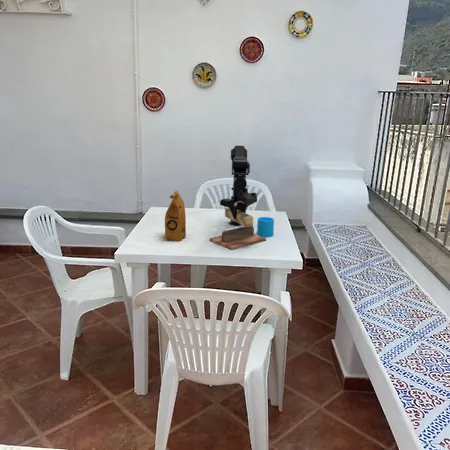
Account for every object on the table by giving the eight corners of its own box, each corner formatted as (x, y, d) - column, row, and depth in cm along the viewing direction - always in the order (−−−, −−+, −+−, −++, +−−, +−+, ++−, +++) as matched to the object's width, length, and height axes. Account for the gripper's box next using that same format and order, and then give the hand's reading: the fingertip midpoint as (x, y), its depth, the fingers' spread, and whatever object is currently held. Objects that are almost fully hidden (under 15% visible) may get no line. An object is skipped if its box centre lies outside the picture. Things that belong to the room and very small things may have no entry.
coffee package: (161, 240, 209) (160, 195, 203) (168, 233, 221) (168, 189, 214) (182, 242, 207) (181, 196, 201) (188, 234, 219) (188, 190, 213)
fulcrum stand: (209, 240, 210) (209, 228, 209) (243, 232, 224) (243, 221, 222) (231, 249, 199) (232, 237, 197) (265, 240, 213) (266, 228, 211)
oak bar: (252, 226, 201) (253, 216, 200) (246, 227, 199) (246, 217, 198) (231, 215, 218) (231, 206, 216) (224, 216, 216) (225, 207, 215)
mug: (272, 237, 217) (273, 221, 215) (255, 236, 219) (256, 220, 216) (274, 230, 228) (275, 215, 226) (258, 229, 230) (259, 214, 228)
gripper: (236, 191, 192) (234, 225, 197) (266, 186, 204) (264, 219, 208) (219, 187, 200) (219, 220, 205) (249, 182, 212) (248, 214, 216)
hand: (238, 218), depth 208 cm, fingers closed on oak bar, 4 cm apart
